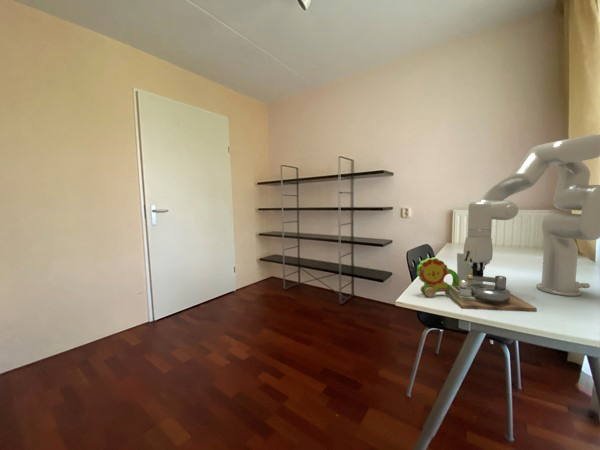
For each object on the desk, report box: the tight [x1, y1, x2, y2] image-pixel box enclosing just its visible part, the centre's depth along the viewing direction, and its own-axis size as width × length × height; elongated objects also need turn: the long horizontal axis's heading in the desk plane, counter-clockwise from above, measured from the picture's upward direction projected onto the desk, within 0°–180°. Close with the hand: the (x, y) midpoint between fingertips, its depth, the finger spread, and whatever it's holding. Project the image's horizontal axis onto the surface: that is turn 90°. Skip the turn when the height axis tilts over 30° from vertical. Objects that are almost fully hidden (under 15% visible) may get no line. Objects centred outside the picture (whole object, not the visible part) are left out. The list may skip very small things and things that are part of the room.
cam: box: [467, 274, 512, 302], centre depth 93 cm, size 12×13×8 cm
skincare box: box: [456, 250, 484, 288], centre depth 111 cm, size 8×6×15 cm
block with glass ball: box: [455, 280, 472, 297], centre depth 95 cm, size 4×4×6 cm
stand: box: [444, 286, 537, 312], centre depth 94 cm, size 23×15×5 cm, turn 80°
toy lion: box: [416, 256, 459, 298], centre depth 101 cm, size 16×5×15 cm, turn 87°
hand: (477, 279), depth 100 cm, fingers closed
